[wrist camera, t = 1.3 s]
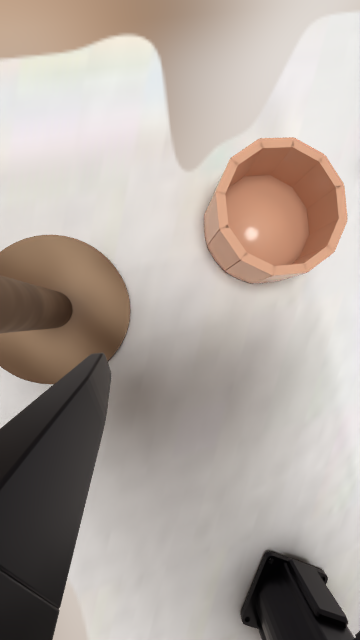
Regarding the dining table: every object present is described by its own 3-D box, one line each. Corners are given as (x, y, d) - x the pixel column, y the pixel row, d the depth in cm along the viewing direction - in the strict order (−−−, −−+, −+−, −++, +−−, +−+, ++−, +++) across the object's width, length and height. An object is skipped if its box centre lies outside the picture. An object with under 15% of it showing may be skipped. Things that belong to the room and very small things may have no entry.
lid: (96, 401, 21) (29, 495, 10) (-42, 347, 20) (-295, 383, 9) (152, 276, 21) (149, 229, 10) (20, 215, 20) (-144, 89, 9)
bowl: (283, 300, 23) (315, 296, 18) (186, 254, 22) (194, 237, 17) (324, 204, 23) (365, 177, 18) (230, 155, 22) (250, 113, 17)
